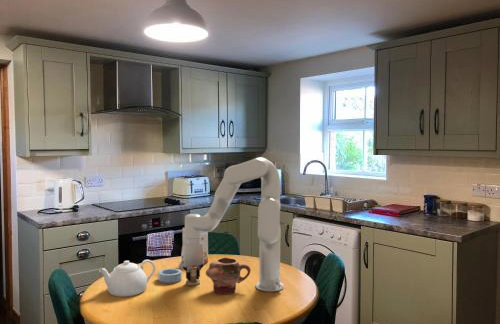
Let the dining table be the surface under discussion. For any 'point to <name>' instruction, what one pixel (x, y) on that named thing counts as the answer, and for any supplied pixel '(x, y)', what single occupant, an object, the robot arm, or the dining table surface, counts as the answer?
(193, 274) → the lid
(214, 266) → the sculpted mug
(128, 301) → the dining table surface
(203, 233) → the cracker box
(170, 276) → the blue faceted bowl
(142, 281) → the teapot
